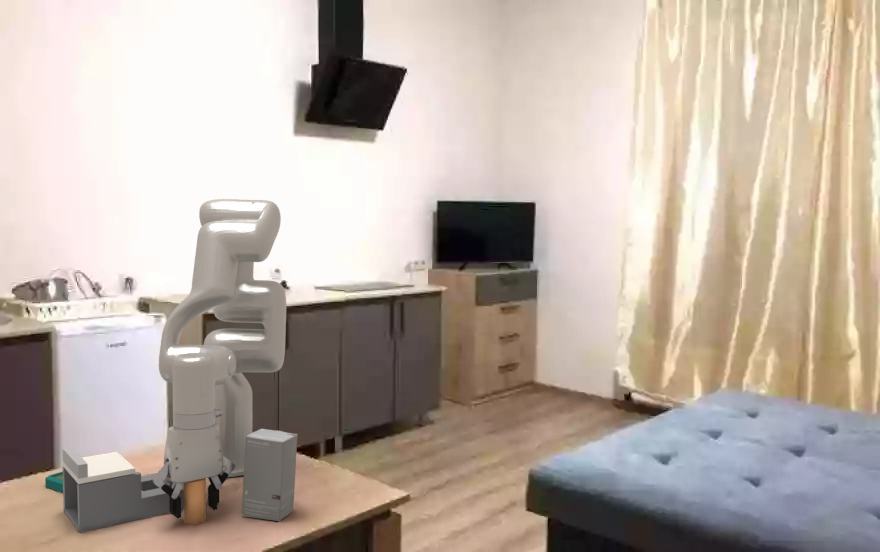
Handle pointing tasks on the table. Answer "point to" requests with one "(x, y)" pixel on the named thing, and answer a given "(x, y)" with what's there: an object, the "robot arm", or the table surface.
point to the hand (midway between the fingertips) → (194, 511)
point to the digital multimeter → (55, 482)
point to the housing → (114, 500)
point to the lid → (95, 466)
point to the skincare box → (269, 474)
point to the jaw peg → (195, 501)
